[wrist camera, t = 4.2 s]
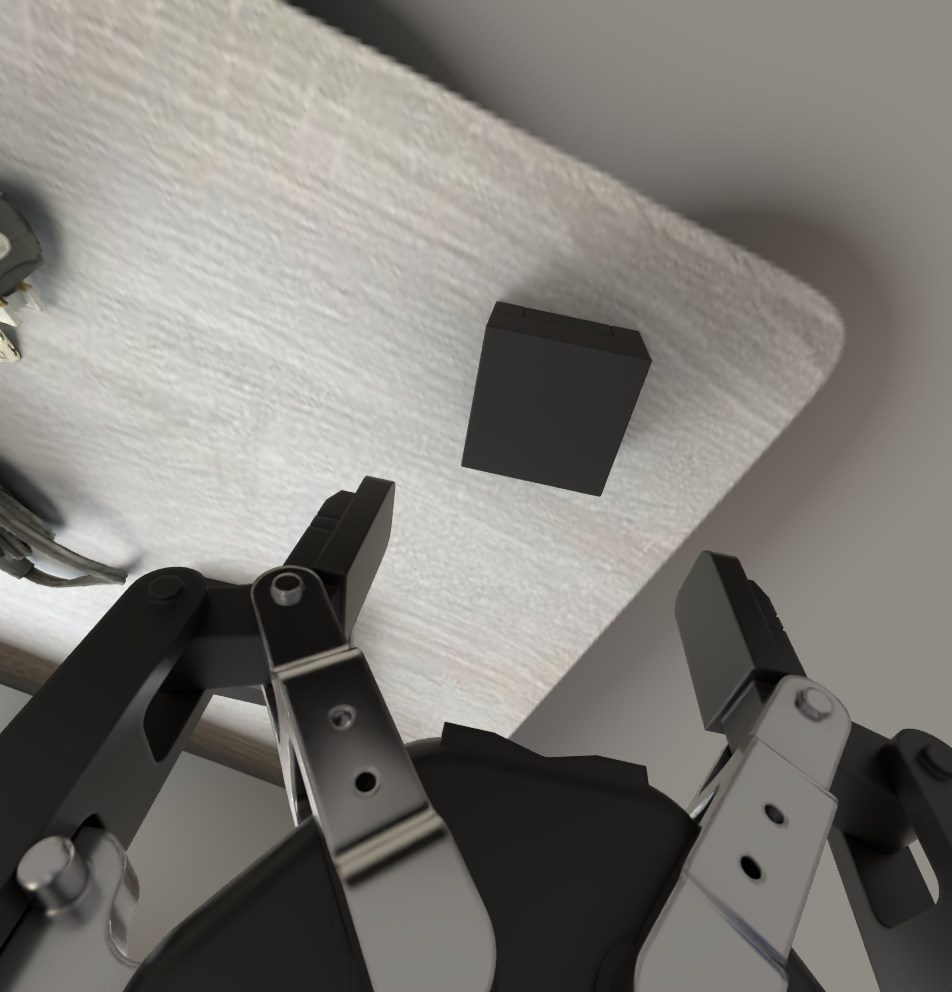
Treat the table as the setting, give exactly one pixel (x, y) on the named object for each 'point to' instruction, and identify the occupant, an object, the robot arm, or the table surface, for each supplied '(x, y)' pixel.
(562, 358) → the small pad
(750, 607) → the robot arm
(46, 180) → the table surface
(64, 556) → the hair dryer
